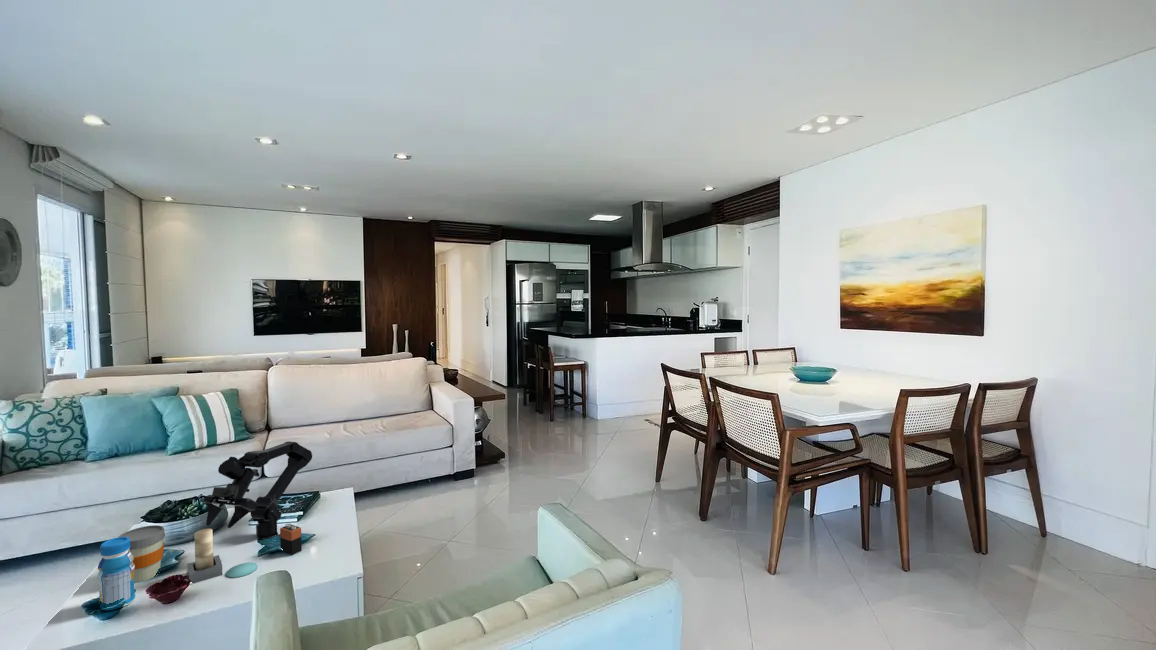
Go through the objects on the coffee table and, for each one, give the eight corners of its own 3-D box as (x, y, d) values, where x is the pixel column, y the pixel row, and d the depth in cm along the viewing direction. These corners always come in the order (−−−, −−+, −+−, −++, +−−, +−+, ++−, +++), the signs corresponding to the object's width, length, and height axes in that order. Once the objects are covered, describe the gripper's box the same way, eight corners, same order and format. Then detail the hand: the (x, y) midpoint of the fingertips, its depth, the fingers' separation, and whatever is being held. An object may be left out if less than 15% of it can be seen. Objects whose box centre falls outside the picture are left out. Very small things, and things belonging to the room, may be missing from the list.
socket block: (219, 564, 177) (218, 554, 176) (222, 574, 170) (222, 564, 170) (187, 573, 171) (186, 563, 170) (189, 584, 164) (189, 574, 164)
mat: (255, 561, 179) (255, 559, 179) (259, 571, 172) (259, 569, 172) (224, 570, 173) (224, 568, 173) (228, 581, 166) (228, 579, 166)
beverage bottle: (113, 614, 148) (111, 549, 147) (91, 610, 150) (88, 546, 149) (143, 597, 157) (140, 536, 156) (121, 594, 158) (118, 533, 157)
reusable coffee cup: (141, 565, 176) (140, 524, 175) (175, 566, 175) (174, 525, 175) (106, 585, 163) (105, 541, 162) (143, 586, 163) (142, 542, 162)
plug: (212, 568, 174) (211, 527, 173) (214, 574, 170) (213, 532, 169) (195, 573, 170) (193, 531, 170) (196, 580, 167) (194, 536, 166)
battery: (291, 546, 190) (290, 521, 189) (302, 550, 187) (301, 524, 186) (279, 551, 186) (279, 525, 185) (291, 556, 183) (290, 529, 182)
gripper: (204, 474, 182) (179, 517, 173) (247, 477, 178) (223, 522, 169) (225, 485, 191) (202, 526, 181) (267, 488, 187) (245, 531, 178)
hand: (217, 526), depth 177 cm, fingers open, 9 cm apart
